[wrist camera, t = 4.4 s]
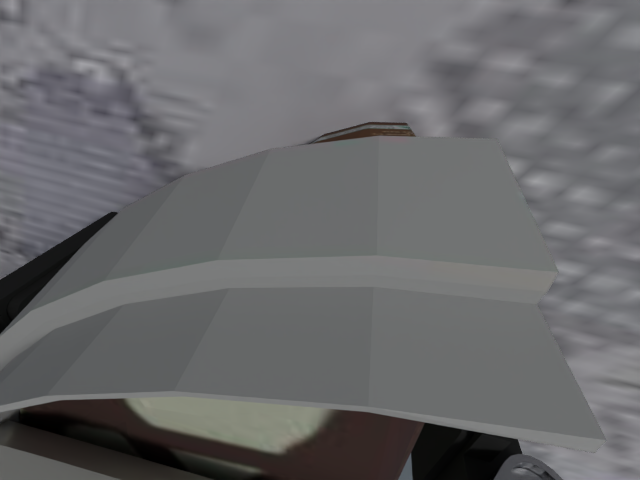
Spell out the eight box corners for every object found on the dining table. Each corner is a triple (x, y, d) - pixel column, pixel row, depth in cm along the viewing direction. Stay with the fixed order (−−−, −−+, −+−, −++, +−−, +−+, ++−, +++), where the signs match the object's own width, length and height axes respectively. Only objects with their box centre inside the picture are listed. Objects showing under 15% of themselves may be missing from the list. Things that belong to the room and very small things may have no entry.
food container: (217, 50, 10) (-728, 92, 2) (418, 69, 9) (733, 342, 1) (242, 324, 16) (93, 612, 8) (359, 347, 16) (327, 688, 7)
